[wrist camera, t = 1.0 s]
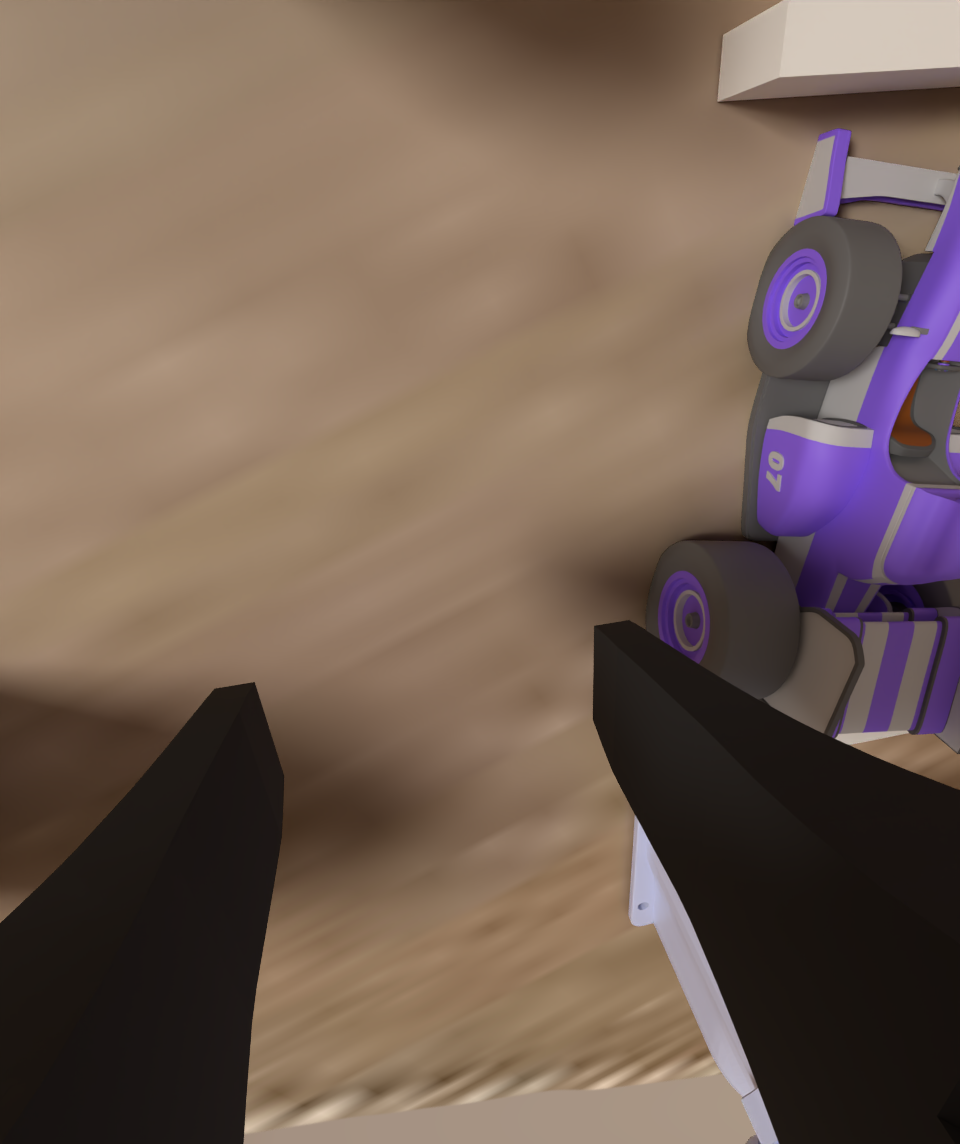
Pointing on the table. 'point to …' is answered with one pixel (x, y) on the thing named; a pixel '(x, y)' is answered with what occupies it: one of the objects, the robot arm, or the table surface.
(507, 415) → the table surface
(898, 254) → the toy race car
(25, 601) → the table surface
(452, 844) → the table surface
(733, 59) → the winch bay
